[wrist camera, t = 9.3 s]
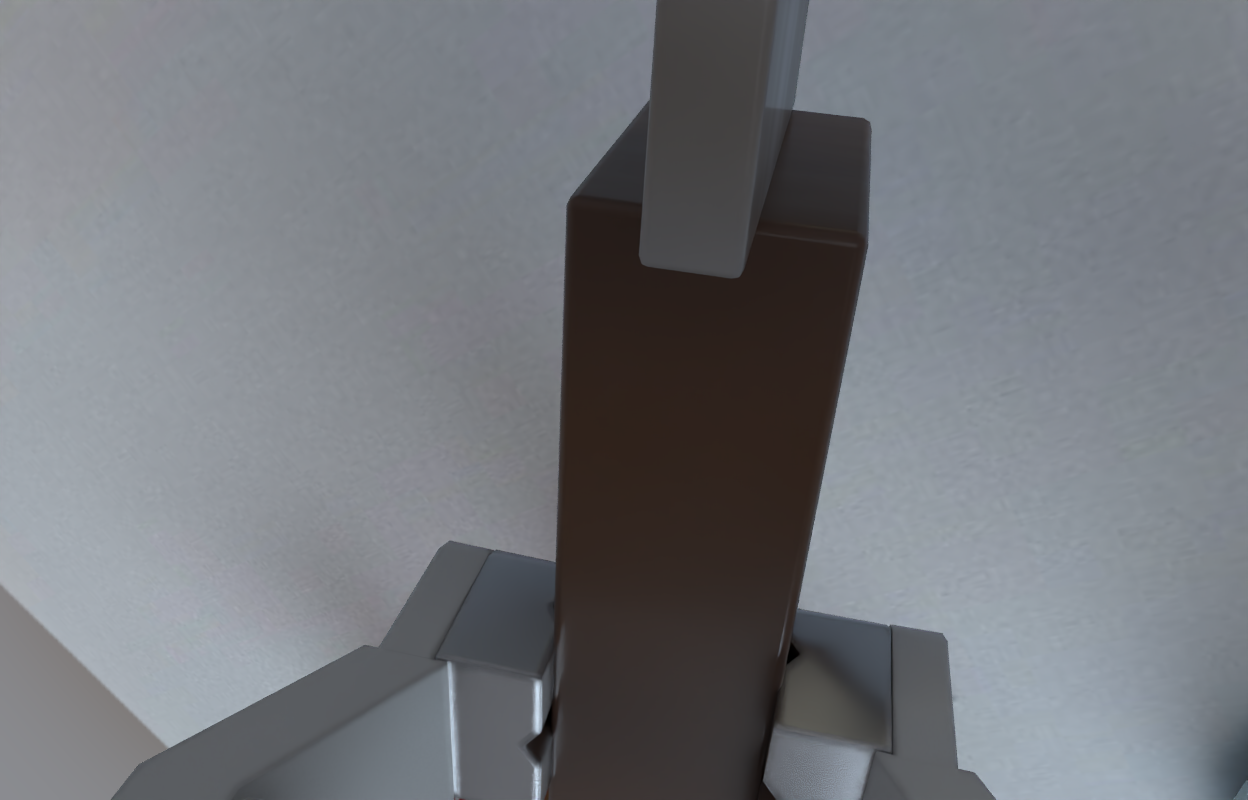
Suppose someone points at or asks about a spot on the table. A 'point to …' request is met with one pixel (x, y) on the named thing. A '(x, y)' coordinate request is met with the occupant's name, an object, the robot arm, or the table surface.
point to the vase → (1243, 792)
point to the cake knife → (698, 405)
